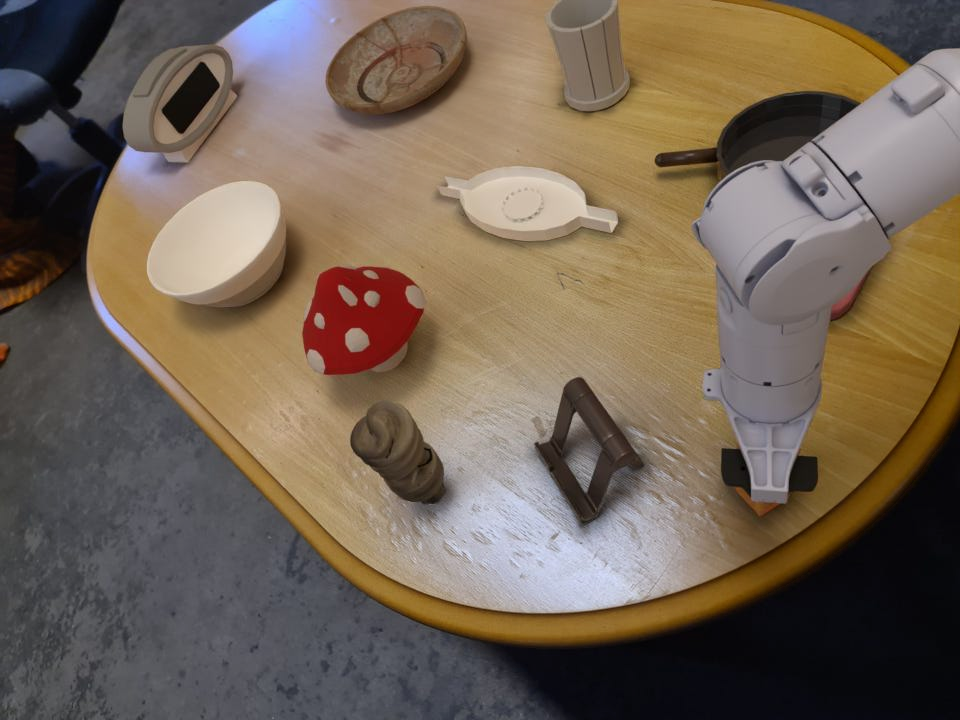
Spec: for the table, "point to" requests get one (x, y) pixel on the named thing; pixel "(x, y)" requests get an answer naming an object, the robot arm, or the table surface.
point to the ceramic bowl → (397, 60)
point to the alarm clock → (179, 101)
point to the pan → (778, 127)
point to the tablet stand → (606, 434)
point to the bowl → (221, 247)
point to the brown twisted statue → (399, 453)
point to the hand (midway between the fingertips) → (765, 446)
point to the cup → (589, 52)
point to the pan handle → (687, 157)
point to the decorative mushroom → (360, 319)
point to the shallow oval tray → (527, 204)
